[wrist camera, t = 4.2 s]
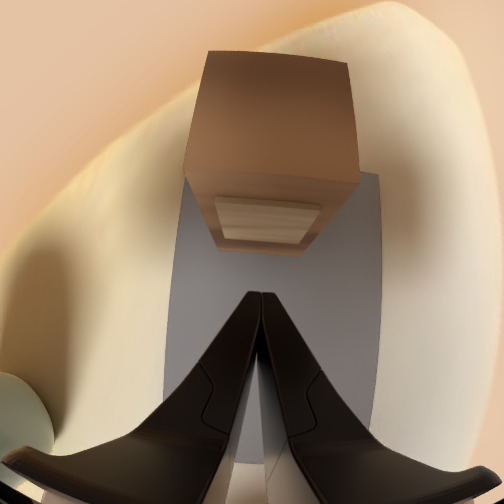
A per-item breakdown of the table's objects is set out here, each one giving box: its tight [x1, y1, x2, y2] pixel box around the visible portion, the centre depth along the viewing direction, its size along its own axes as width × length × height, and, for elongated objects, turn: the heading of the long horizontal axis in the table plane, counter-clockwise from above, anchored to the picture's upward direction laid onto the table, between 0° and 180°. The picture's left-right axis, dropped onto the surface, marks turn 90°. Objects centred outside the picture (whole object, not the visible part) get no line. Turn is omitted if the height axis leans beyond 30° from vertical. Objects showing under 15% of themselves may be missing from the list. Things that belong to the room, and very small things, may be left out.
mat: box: [163, 172, 382, 464], centre depth 17 cm, size 18×12×1 cm, turn 176°
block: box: [183, 51, 360, 257], centre depth 13 cm, size 5×4×10 cm
